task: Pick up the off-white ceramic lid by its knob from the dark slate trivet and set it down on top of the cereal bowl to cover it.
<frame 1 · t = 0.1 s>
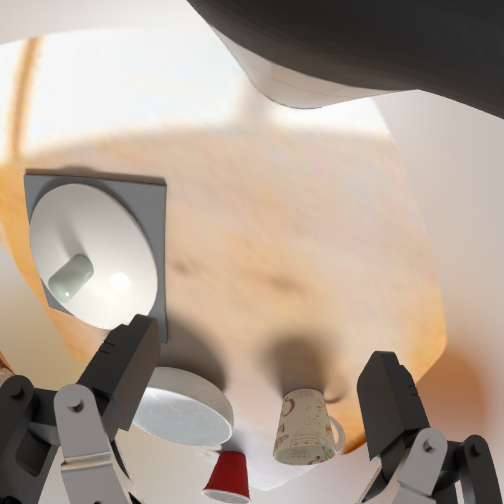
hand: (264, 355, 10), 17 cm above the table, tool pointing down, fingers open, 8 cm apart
teacup with lid: (11, 374, 53), on the table
mug: (314, 401, 38), on the table
cereal bowl: (184, 385, 39), on the table
plastic cup: (232, 454, 51), on the table
lid: (87, 262, 29), point 1 cm above the table, touching trivet
trivet: (89, 259, 29), on the table
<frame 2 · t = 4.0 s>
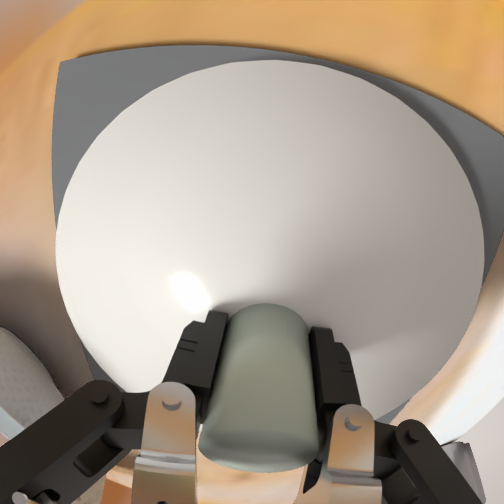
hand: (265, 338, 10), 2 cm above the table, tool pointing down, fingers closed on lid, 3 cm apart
mug: (89, 452, 26), on the table
cereal bowl: (24, 360, 18), on the table
lid: (267, 320, 11), point 1 cm above the table, touching gripper, trivet
trivet: (267, 312, 12), on the table
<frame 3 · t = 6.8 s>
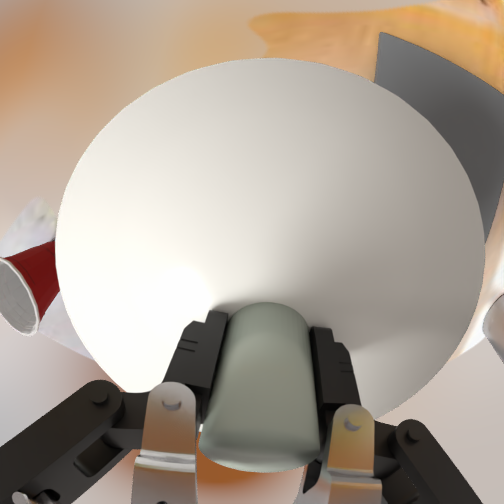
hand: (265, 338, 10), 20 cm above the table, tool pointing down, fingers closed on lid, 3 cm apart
plastic cup: (60, 256, 34), on the table
lid: (268, 319, 11), point 19 cm above the table, touching gripper
trivet: (448, 147, 23), on the table
when the fingers open (9 cm above the table, at t = 9.7 s): lid drops 1 cm, resting on cereal bowl.
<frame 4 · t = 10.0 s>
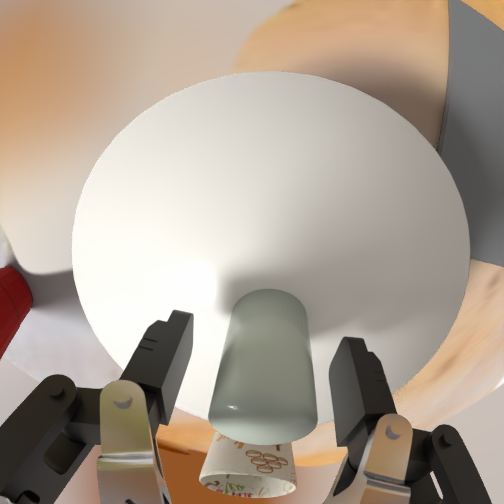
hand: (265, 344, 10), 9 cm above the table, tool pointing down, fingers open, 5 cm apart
mug: (246, 409, 27), on the table
plastic cup: (18, 285, 24), on the table
lid: (269, 306, 12), point 7 cm above the table, touching cereal bowl
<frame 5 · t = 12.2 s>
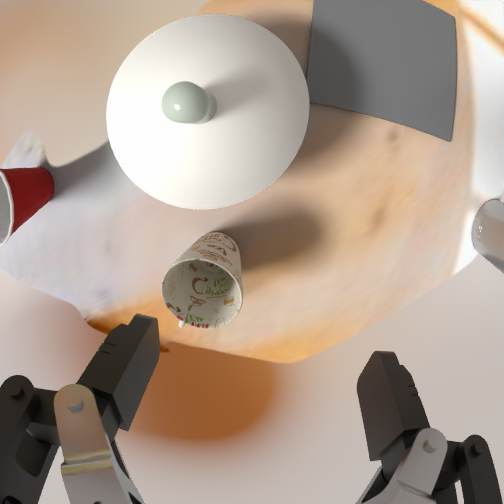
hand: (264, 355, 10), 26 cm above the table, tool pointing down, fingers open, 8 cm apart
mug: (210, 265, 37), on the table
plastic cup: (43, 183, 33), on the table
lid: (201, 107, 23), point 7 cm above the table, touching cereal bowl
trivet: (391, 47, 24), on the table
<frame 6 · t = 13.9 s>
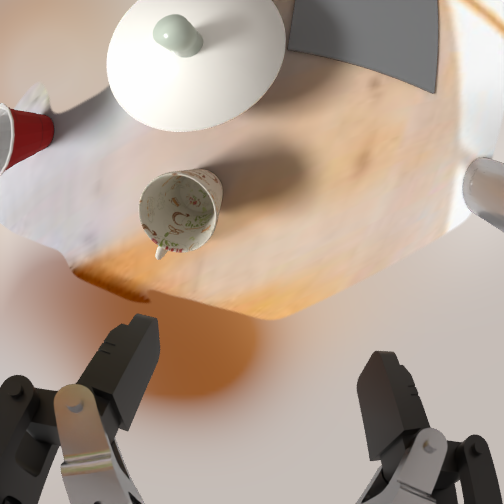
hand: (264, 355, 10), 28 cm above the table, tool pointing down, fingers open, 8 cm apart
mug: (194, 204, 37), on the table
plastic cup: (44, 130, 33), on the table
lid: (190, 46, 22), point 7 cm above the table, touching cereal bowl
trivet: (372, 7, 23), on the table
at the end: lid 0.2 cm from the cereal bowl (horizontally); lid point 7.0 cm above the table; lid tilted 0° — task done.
